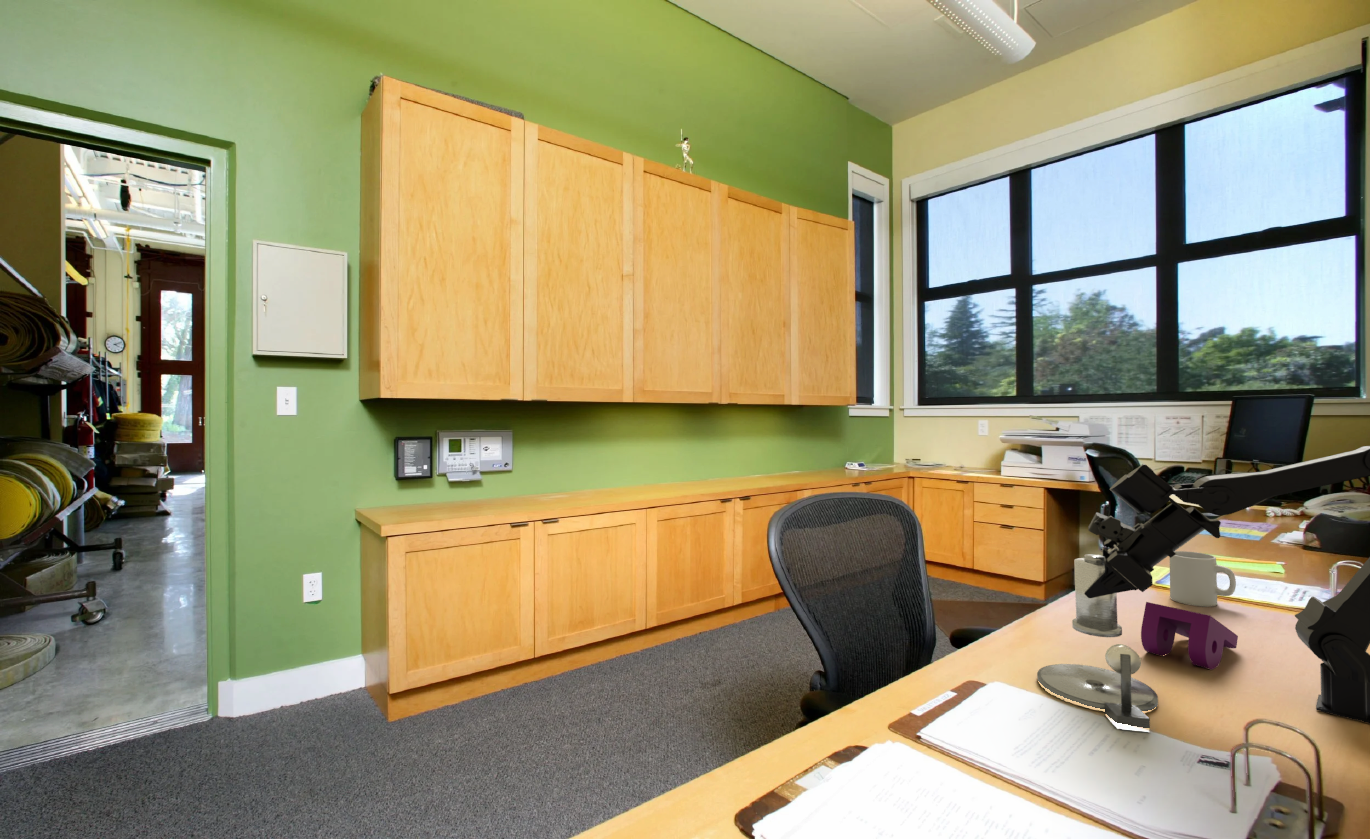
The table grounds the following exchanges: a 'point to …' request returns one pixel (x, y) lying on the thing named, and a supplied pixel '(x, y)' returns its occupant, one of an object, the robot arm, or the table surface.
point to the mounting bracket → (1185, 634)
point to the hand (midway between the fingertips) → (1086, 591)
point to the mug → (1197, 579)
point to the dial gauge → (1125, 686)
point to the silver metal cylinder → (1094, 601)
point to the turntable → (1094, 686)
